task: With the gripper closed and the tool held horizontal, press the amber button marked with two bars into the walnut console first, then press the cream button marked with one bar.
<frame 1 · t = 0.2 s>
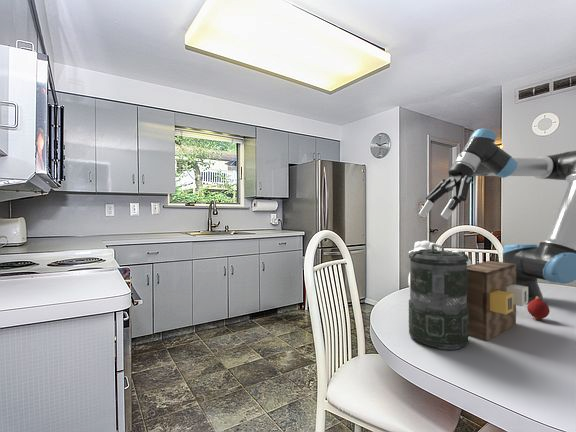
hand: (432, 216, 110), 36 cm above the table, tool tilted 35°, fingers open, 13 cm apart
canister: (437, 339, 90), on the table
button one: (515, 294, 97), point 11 cm above the table, slide at 0.0 cm
onion: (538, 320, 105), on the table
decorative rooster: (440, 301, 127), on the table
button two: (500, 301, 90), point 11 cm above the table, slide at 0.0 cm
console: (487, 327, 98), on the table
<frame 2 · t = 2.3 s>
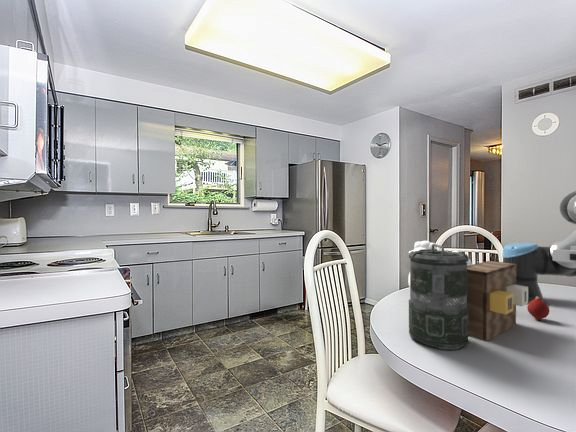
hand: (562, 252, 78), 27 cm above the table, tool horizontal, fingers open, 13 cm apart
nothing on the table moved.
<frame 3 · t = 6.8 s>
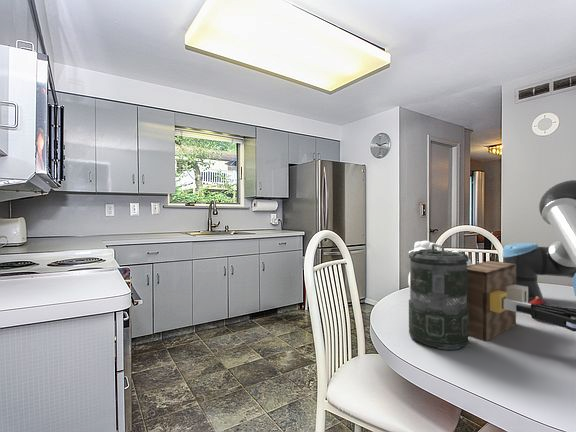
hand: (504, 303, 88), 11 cm above the table, tool horizontal, fingers closed
button two: (494, 300, 91), point 11 cm above the table, slide at 1.5 cm, touching gripper
everything else where it was.
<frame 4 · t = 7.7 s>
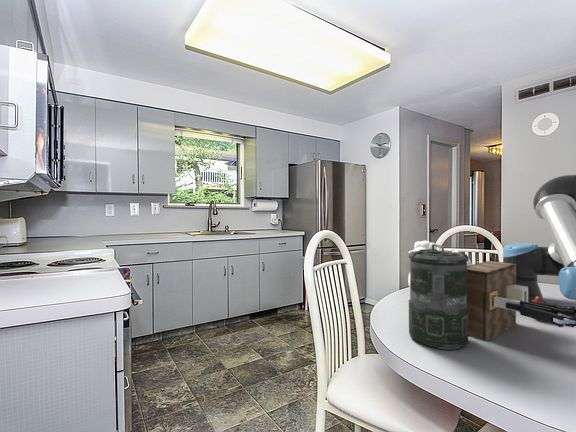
hand: (494, 301, 91), 11 cm above the table, tool horizontal, fingers closed
button two: (484, 298, 93), point 11 cm above the table, slide at 4.1 cm, touching gripper
everything else where it was.
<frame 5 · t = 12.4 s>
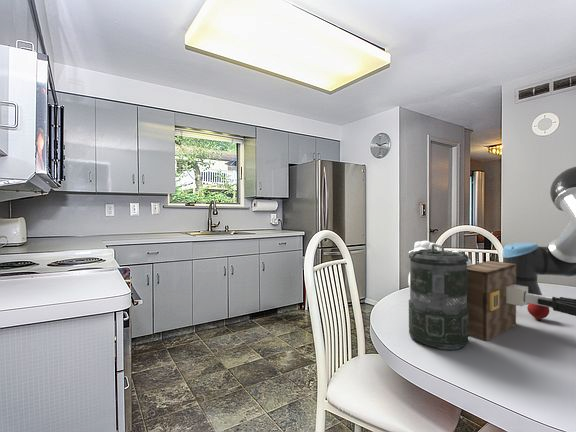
hand: (526, 297, 94), 11 cm above the table, tool horizontal, fingers closed
button one: (515, 294, 97), point 11 cm above the table, slide at 0.0 cm, touching gripper
button two: (486, 298, 93), point 11 cm above the table, slide at 3.6 cm
everything else where it was.
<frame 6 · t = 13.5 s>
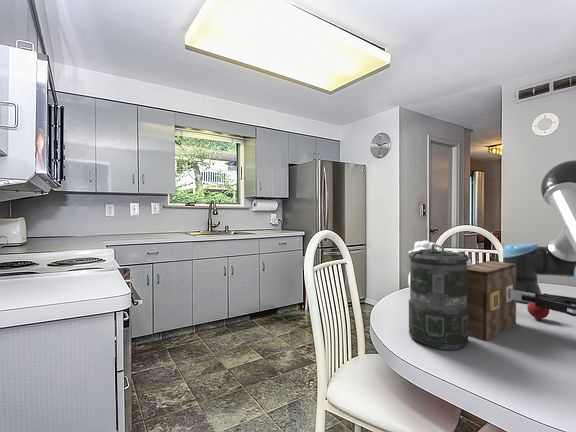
hand: (510, 294, 98), 11 cm above the table, tool horizontal, fingers closed
button one: (501, 291, 100), point 11 cm above the table, slide at 4.1 cm, touching gripper
everything else where it was.
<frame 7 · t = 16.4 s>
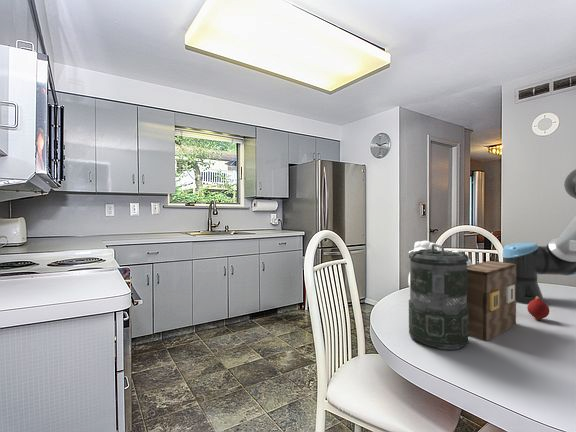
hand: (570, 245, 86), 28 cm above the table, tool horizontal, fingers closed
button one: (503, 292, 100), point 11 cm above the table, slide at 3.6 cm
everything else where it was.
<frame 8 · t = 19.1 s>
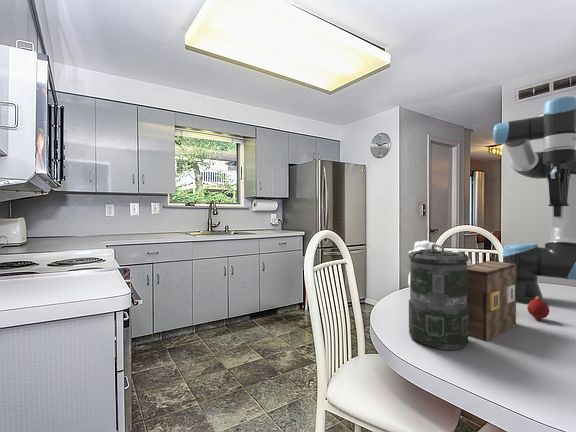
hand: (558, 227, 94), 32 cm above the table, tool pointing down, fingers closed
nothing on the table moved.
at the end: button two slide at 3.6 cm; button one slide at 3.6 cm; canister moved 0.2 cm from its start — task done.
